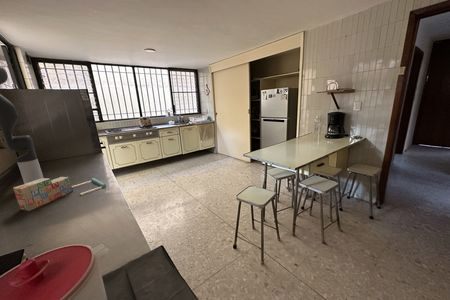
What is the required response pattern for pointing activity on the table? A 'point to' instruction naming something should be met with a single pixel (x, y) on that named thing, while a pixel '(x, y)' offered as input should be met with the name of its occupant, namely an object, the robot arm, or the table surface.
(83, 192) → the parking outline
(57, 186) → the stack of blocks
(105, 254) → the table surface
